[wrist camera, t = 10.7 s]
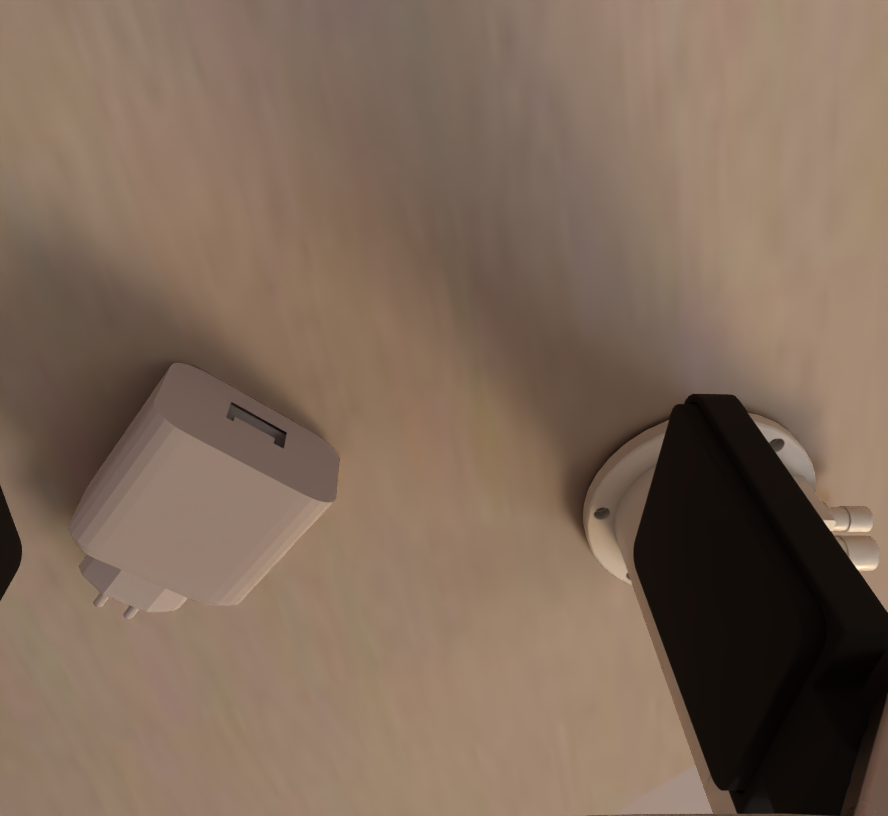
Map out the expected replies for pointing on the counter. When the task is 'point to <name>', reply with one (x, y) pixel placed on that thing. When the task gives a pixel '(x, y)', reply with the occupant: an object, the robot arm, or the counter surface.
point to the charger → (199, 497)
